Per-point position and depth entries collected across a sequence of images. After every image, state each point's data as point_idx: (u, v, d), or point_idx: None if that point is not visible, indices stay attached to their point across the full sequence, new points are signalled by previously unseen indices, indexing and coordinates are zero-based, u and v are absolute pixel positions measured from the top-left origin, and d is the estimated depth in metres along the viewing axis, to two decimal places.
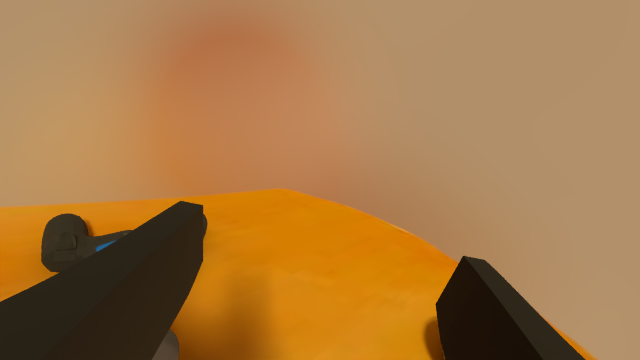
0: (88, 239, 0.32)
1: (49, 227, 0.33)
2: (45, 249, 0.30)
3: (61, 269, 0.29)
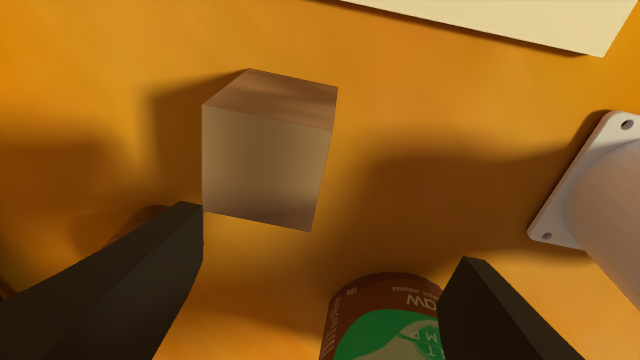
0: None
1: None
2: None
3: None
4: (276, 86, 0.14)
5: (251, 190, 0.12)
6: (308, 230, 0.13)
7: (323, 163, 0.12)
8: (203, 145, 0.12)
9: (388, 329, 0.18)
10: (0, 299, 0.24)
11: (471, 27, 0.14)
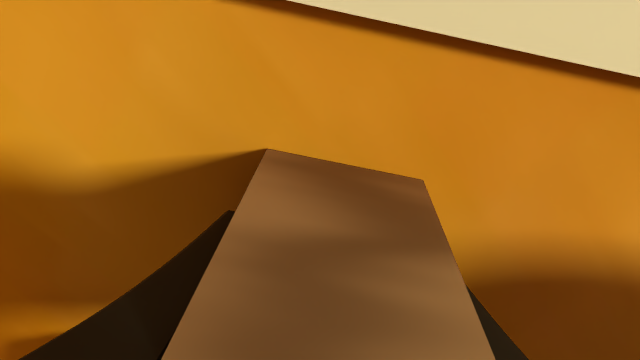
0: None
1: None
2: None
3: None
4: (325, 202, 0.07)
5: None
6: None
7: None
8: None
9: None
10: None
11: None
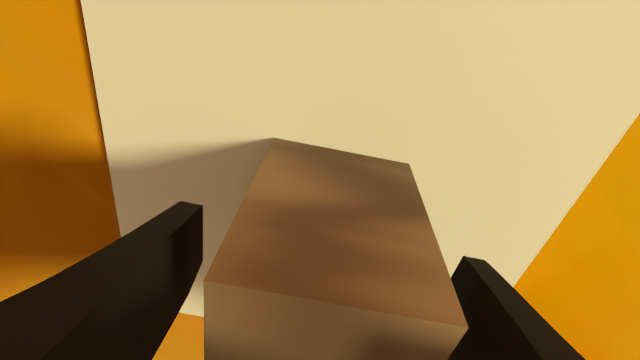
0: None
1: None
2: None
3: None
4: (324, 180, 0.09)
5: None
6: None
7: None
8: (206, 332, 0.06)
9: None
10: None
11: None
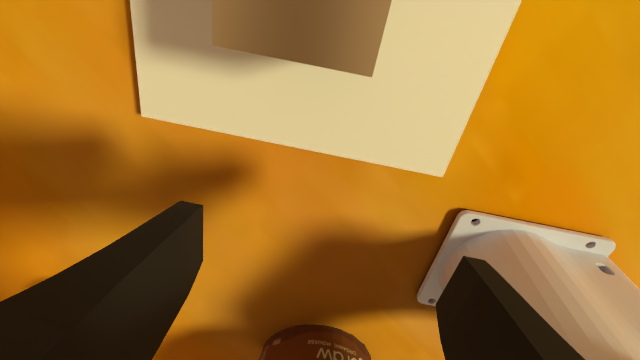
0: None
1: None
2: None
3: None
4: None
5: None
6: (369, 74, 0.09)
7: None
8: None
9: None
10: None
11: (335, 154, 0.17)
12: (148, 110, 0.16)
